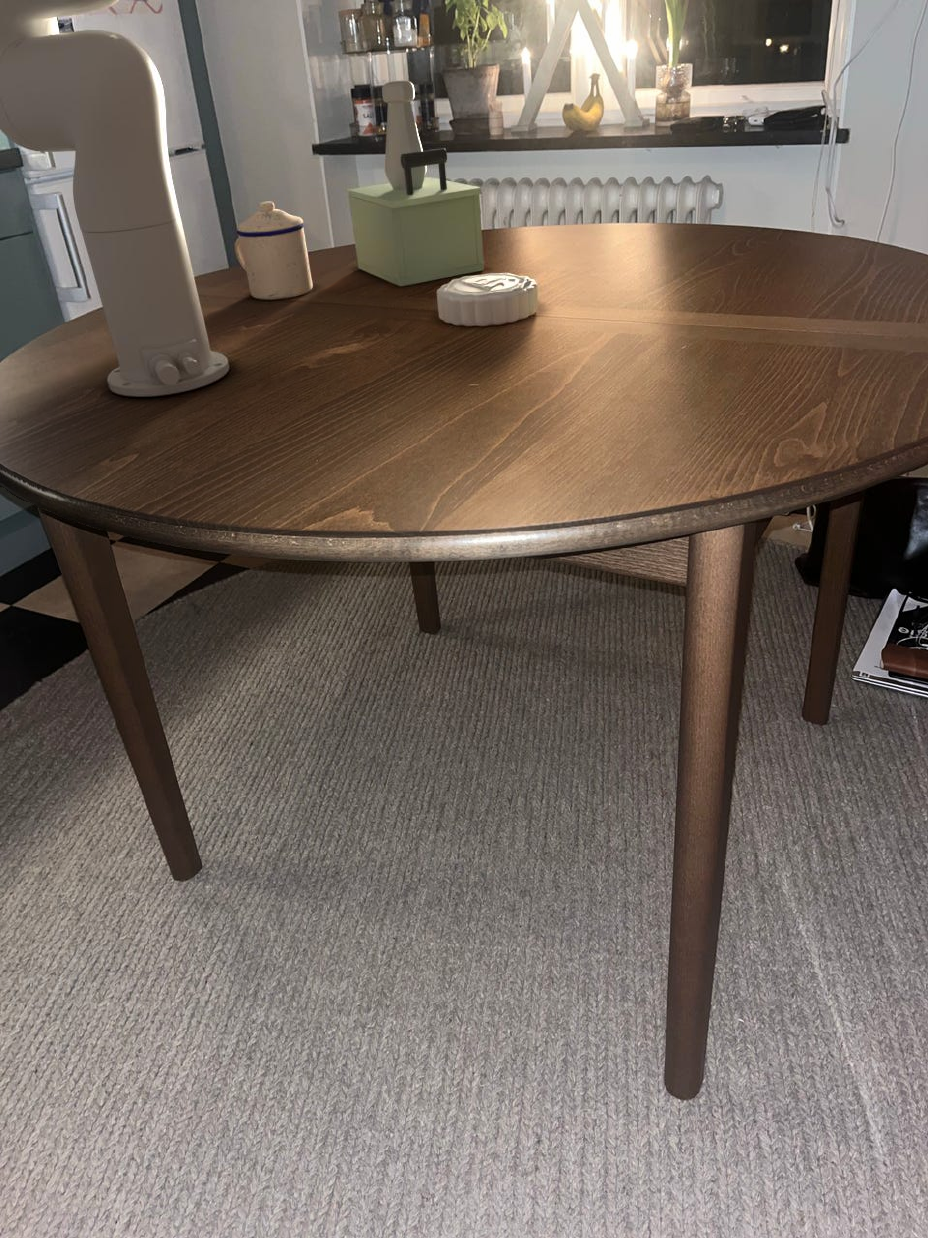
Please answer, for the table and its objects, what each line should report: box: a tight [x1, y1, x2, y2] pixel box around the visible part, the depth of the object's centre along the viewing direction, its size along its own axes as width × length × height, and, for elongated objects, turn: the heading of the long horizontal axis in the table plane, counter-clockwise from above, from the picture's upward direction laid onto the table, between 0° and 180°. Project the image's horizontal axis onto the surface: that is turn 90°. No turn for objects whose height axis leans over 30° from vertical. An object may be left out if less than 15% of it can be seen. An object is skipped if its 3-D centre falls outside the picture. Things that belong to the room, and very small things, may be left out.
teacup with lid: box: [234, 200, 314, 301], centre depth 129 cm, size 12×9×12 cm
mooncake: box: [436, 272, 539, 327], centre depth 112 cm, size 12×12×4 cm
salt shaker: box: [381, 79, 428, 190], centre depth 128 cm, size 6×6×13 cm
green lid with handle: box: [347, 147, 483, 208], centre depth 129 cm, size 17×13×6 cm
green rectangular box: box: [348, 194, 485, 287], centre depth 134 cm, size 16×13×10 cm
